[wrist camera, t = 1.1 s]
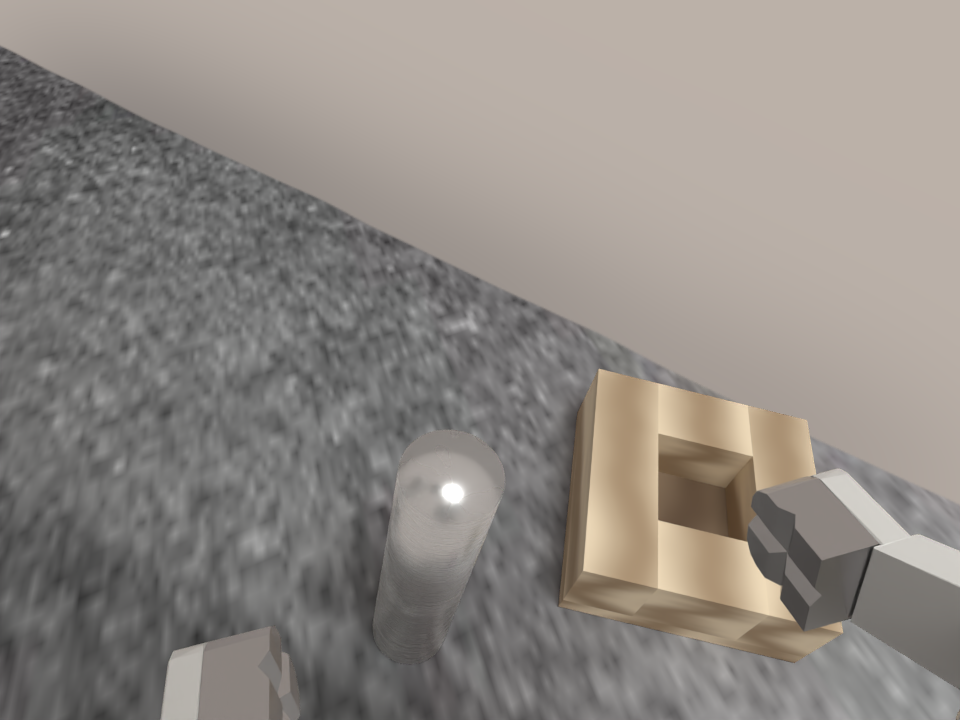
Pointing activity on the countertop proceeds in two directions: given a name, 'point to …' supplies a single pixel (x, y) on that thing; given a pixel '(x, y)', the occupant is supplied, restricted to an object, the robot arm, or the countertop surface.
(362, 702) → the countertop surface
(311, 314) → the countertop surface
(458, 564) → the pin
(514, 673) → the countertop surface
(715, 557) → the socket block
